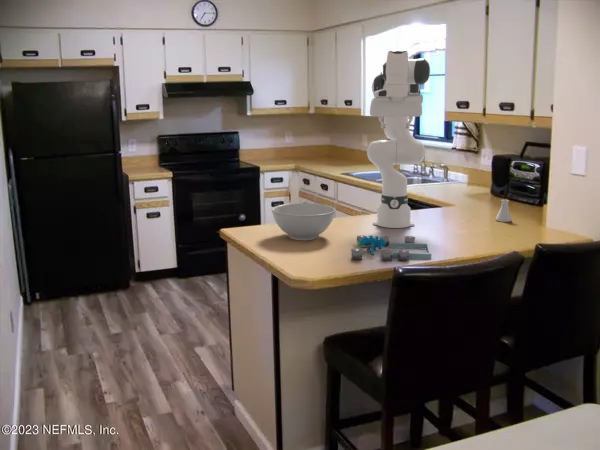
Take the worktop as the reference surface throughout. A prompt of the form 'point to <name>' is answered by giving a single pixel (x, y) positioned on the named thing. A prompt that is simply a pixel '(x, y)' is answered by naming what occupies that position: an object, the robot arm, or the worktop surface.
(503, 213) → the flask
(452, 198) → the worktop surface
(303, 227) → the decorative bowl
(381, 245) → the gear
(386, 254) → the spacers
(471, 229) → the worktop surface
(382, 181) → the robot arm
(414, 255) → the light blue u-shaped piece
